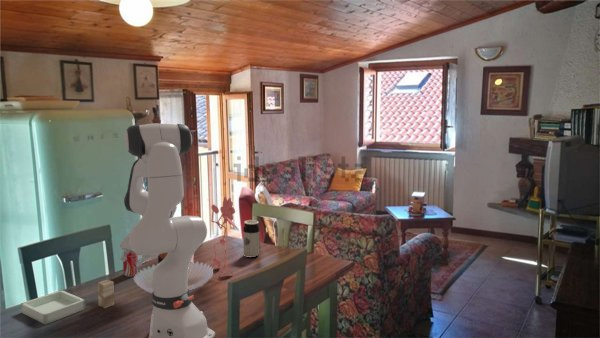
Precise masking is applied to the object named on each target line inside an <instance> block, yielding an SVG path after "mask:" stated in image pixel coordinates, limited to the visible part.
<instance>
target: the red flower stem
mask: <svg viewBox="0 0 600 338" xmlns="http://www.w3.org/2000/svg"><path fill="white" fill-rule="evenodd" d="M233 204H234V203H233V201H232V198H231V197H229V198H227V197H226V196H224V197H223V201H222V206H221V207H220V208H218V206H216V205H215V204H212V205H211V210H212V214H211V222H212V223H216V225H217V226H218V227H219V229H220V230H222V229H223V228H224V233H223V237H221V238H220V239H219V241H218V242H216V243H214V244H213V250H214V255H215V257H214V258H213V264H212V266H211V268H212V267H213V268H214V266H215V265H216V266H217V268H220V267H221V266H222V264H223V266H222V269H221V271H220V274H219V275H218V277H219V276H220V277H221V275H222V273H223V272H224V269H225V268H226V270H228V272H229V273H230V274H231V275H232V276H233V275H234V274H233V272H232V271H231V270H230V269H229V268H228V266H227V261H226V260H227V248H226V242H227V241H226V238H225V237H226V232H227V228H226V226H224V224H227V222H228V224H229V225H231V226H232V227H233V228H235V229H236V230H239V228H238V226H237V225H236V224H235V223H234V214H235V213H236V210H235V207H233V206H234V205H233ZM219 212H221V215H220V217H219V219H218V220H217V221H216V220H214V214H216V215H217V214H219ZM222 218H223V222H222V224H221V223H220V221H221V219H222ZM218 244H222V245H224V262H223V263H222V262H221V261H220V259H219V258H218V257H217V254H216V253H217V252H216V246H215V245H218ZM224 280H225V279H224ZM224 280H223V282H224Z"/></svg>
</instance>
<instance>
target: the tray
mask: <svg viewBox="0 0 600 338" xmlns="http://www.w3.org/2000/svg"><path fill="white" fill-rule="evenodd" d="M20 309H21V311H20V312H21V314H23V315H25V316H27V317H29V318H31V319H33V320H35V321H37V322H38V323H41V324H43V325H48V324H50V323H53V322H56V321H58V320H61V319H64V318H65V317H68V316H72V315H74V314H77V313H79V312H82V311H85V310H87V304H86V299H84V298H81V297H80V296H77V295H74V294H72V293H70V292H68V291H65V290H62V289H60V290H58V291H55V292H52V293H48V294H46V295H43V296H39V297H37V298H34V299H30V300H26V301H24V302H22V303H20Z"/></svg>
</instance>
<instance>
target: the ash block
mask: <svg viewBox="0 0 600 338" xmlns="http://www.w3.org/2000/svg"><path fill="white" fill-rule="evenodd" d="M114 284H115V281H113V280H110V279H105V280H102V281H99V282H97V295H98V296H97V297H98V298H97V299H98V302H97V303H98V307H102V308H104V309H107V308H109V307H111V306H114V305H115V287H114V286H115V285H114Z"/></svg>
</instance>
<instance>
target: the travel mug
mask: <svg viewBox="0 0 600 338" xmlns="http://www.w3.org/2000/svg"><path fill="white" fill-rule="evenodd" d="M243 223H244V226H243V238H242V239H243V246H242V247H243V252H242V253H243V254H244V255H245V256H256V255H258V254H259V255H260V227H259V220H254V219H248V220H244V221H243Z"/></svg>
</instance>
